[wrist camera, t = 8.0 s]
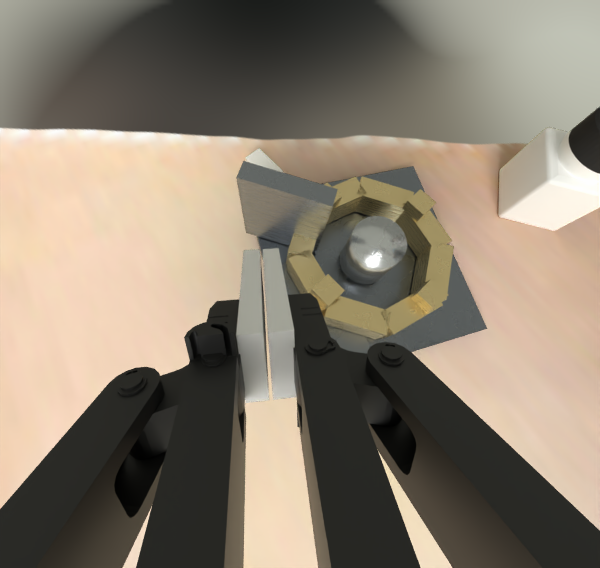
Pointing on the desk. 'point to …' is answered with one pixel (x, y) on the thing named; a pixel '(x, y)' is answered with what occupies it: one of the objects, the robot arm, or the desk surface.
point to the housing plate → (385, 274)
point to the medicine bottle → (553, 177)
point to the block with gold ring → (329, 207)
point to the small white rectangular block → (262, 160)
